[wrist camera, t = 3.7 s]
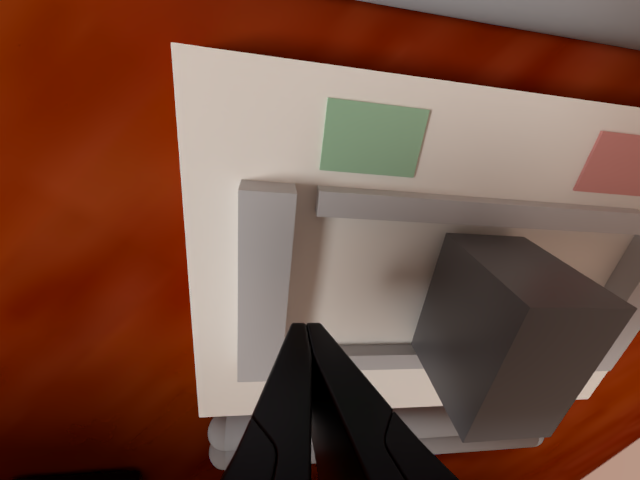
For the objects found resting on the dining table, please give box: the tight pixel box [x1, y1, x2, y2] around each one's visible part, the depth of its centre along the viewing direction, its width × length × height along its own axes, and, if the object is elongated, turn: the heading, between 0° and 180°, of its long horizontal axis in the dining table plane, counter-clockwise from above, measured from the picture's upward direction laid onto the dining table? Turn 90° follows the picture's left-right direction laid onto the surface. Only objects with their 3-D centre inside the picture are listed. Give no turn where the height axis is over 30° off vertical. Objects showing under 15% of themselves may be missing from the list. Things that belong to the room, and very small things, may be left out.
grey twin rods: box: [208, 0, 640, 470], centre depth 14 cm, size 20×24×2 cm
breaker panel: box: [171, 42, 640, 417], centre depth 13 cm, size 20×14×3 cm
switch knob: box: [411, 233, 637, 443], centre depth 10 cm, size 3×5×4 cm, turn 173°
